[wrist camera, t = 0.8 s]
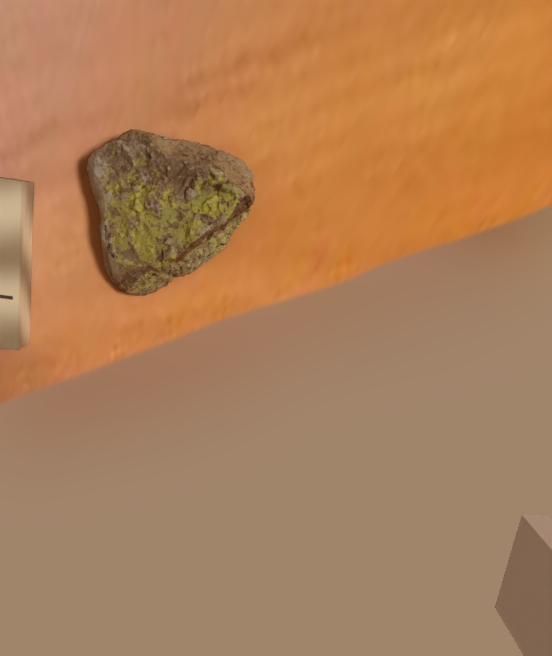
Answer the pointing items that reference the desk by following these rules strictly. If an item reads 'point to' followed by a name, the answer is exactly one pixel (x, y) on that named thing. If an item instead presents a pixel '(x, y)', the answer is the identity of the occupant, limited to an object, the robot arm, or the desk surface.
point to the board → (15, 261)
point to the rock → (165, 206)
